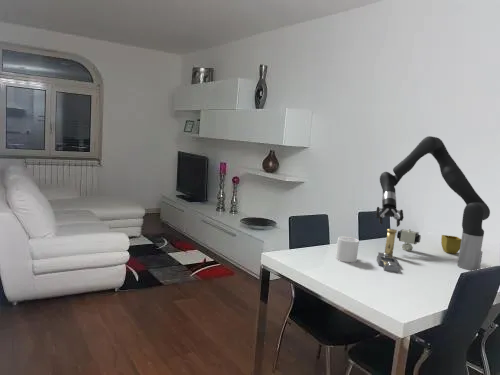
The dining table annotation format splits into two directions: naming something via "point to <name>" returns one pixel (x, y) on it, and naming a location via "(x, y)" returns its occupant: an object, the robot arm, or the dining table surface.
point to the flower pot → (450, 244)
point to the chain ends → (388, 262)
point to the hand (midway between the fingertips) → (389, 224)
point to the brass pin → (390, 241)
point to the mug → (347, 249)
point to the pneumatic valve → (408, 238)
